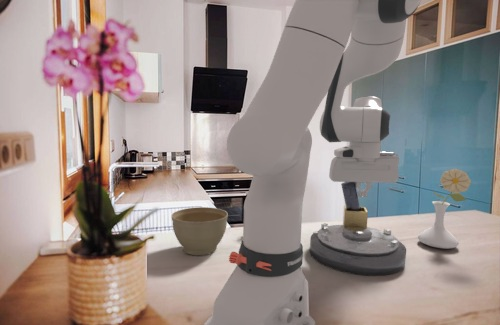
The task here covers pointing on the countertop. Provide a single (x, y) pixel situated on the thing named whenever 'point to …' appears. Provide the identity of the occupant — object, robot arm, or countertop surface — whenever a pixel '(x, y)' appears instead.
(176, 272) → the countertop surface
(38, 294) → the countertop surface
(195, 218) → the planter bowl
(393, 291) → the countertop surface
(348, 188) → the pin
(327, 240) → the grey round disc
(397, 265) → the housing
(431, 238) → the flower in vase
